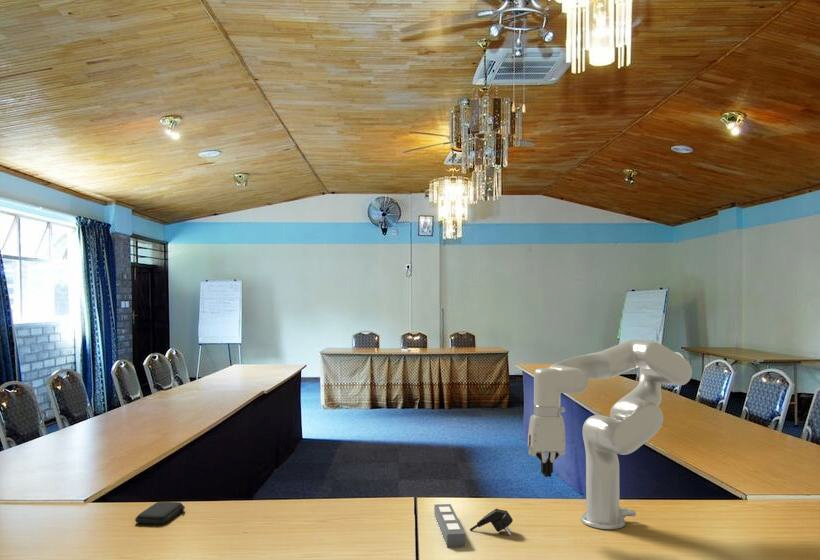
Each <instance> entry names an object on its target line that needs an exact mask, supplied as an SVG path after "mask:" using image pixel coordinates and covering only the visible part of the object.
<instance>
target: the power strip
mask: <svg viewBox="0 0 820 560" xmlns="http://www.w3.org/2000/svg"><path fill="white" fill-rule="evenodd" d="M433 505H434V506H433V508H434V509H433V510H434V515H435V516H434V518H435V517H436V519H435V521H436V520H437V521H436V523H437V522H438V524H437V526H438V525H439V526H438V528H439V527H440V529H439V531H440V530H441V531H440V533H441V532H442V533H441V536H442V535H443V536H442V539H443V541H444V540H445V541H444V543H445V542H446V543H445V545H447V546H446V548H463V547H464V548H465V547H466V541H467V540H466V532H465V530H464V527H463V526H462V524H461V522H460V520H459V518H458V515H457V514H456V512H455V509H454V508H453V506H452V505H451V503H443V504H442V503H441V504H439V503H438V504H433Z"/></svg>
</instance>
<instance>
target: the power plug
mask: <svg viewBox="0 0 820 560" xmlns="http://www.w3.org/2000/svg"><path fill="white" fill-rule="evenodd" d="M489 523H491V525H492V526H493V528H494V529H495V531H496V532H501V531H503V530H504V531H505V532H506V534H507V535H508V537H509V536H511V535H512V533H511V532H512V530H511V528H510V527H509V526H510V525H511V524H512V523H513V518H512V516H511V515H510V513H509V512H508V510H504V509H500V508H495V509H492V511H490V512H489V513H487V514H486V515H484V516H483V517H482V518H481V519H480V520H479V521H477V523H476V524H475V525H473V526H472V527H470V528H469V531H470V532H471V531H473V530H475V529H476V528H481V527H483V526H486V525H487V524H489Z"/></svg>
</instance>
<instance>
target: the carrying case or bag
mask: <svg viewBox="0 0 820 560" xmlns="http://www.w3.org/2000/svg"><path fill="white" fill-rule="evenodd" d="M185 509H186V507H185V505H184V504H183V503H182V502H179V501H175V502H174V501H158V502H155V503H153V504H151V505H150V506H149V507H148V508H146V509H144V510H143V511H142V512H140V513H139V514H138V515H137V516H135V519H134V520H135V523H137V525H142V526H145V525H146V526H164V525H165V524H166V523H168V522H169V521H171V520H172V519H174V517H176V516H177V515H178V514H180V513H184V511H185Z"/></svg>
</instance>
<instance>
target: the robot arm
mask: <svg viewBox="0 0 820 560" xmlns="http://www.w3.org/2000/svg"><path fill="white" fill-rule="evenodd" d="M638 368H639V380H638V384H637V385H636V386H635V388H634V389H632V390H631V391H630V392H628V393H627V394H625V395H624V396H623V397H621V398H620V399H619V400H617V401H616V402H615V403H614V404H613V405H612V407H611V408H610V413H609V416H606V415H603V414H595V415H591V416H589V417H588V418H586V420H585V421H584V423H583V426H582V439H583V444H584V450H585V490H586V492H585V493H586V494H585V499H586V500H585V501H586V502H585V505H586V507H585V509H586V512H583V513H582V514H581V515H580V521H581V522H582V523H583V524H585V525H586V526H588V527H592V528H595V529H600V530H618V529H622V528H623V527H625V526H626V520H625V518H626V517H629V518H630V517H636V513H637V512H636V510H635V509H628V508H627V507H621V506H620V462H619V457H618V455H623V456H625V455H630V454H632V453H634V452H635V451H637V450H639V448H640V447H642V446H643V445H644V444H646V443H647V442H648V441H649V440H651V439H652V438H653V437H655V435H656V434H658V432H659V431H660V430H661V428H662V426H663V422H664V413H663V411H662V409H661V408H660V406H661V403H662V398H663V397H662V384H666V385H670V386H684V385H687V384H688V383H689V382H690V380H691V379H692V376H693V370H692V369H693V368H692V366H691V363H690V362H689V361H688V360H687V359H686V358H685V357H684V356H682V355H680V354H679V353H677V352H675V351H674V350H671V348H668V347H667V346H665V345H663V344H662V343H660V342H657V341H653V340H645V339H644V340H643V339H631V340H626V341H624V342H621V343H619V344H616V345H613V346H610V347H609V348H605V349H603V350H599V351H597V352H591V353H588V354H583V355H577V356H573V357H569V358H567V359H563V360H562V361H559V362H556V363H553V364H551V365H550V366H548V367H540V368H536V369H535V370H534V373H533V414H531V415H530V417H529V424H528V431H527V432H528V434H527V446H528V455H529V456H533V457H537V459H538V460H539V461H540V473H541V474H542V475H543V476H544V477H546V478H548V477H549V478H551V477H552V474H553V472H554V466H553V465H554V463H555V460H556V459H557V458H559V457H563V456H564V455H566V445H567V444H566V439H567V438H566V429H565V422H564V417H563V416H562V413H564V412H566V407H564V406H562V405H561V394H570V395H571V394H572V395H577V394H581V393H583V392H585V391H586V389H587V388H588V386H589V382H590V381H589V380H606V379H607V380H608V379H613V378H615V377H617V376H620V375H622V374H625V373H627V372H629V371H633V370H634V369H638ZM546 453H547V454H546Z"/></svg>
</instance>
